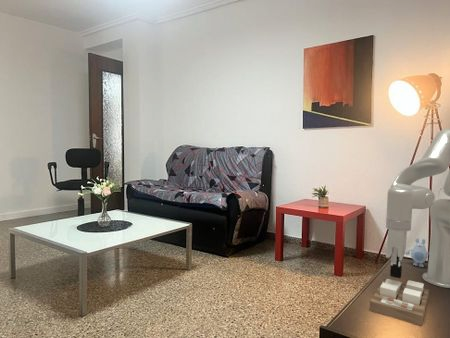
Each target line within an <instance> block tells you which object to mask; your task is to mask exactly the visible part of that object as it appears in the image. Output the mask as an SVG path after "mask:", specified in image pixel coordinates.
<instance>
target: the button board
mask: <svg viewBox="0 0 450 338" xmlns="http://www.w3.org/2000/svg"><path fill="white" fill-rule="evenodd" d="M387 279H388V278H383V280H382V281H381V282H380V284H379V286H378V287H377V289H376V291H375V293H374V294H373V296H372V297H371V299H370V300H369V311H370V312H374V313H377V314H381V315H383V316H387V317H391V318H394V319H397V320H400V321H404V322H407V323H411V324H413V325H418V326H421V327H422V326H423V321H424V318H425V313H426V308H427V305H428V301H429V293H430V292H429V291H430V290H429V289H427V288H424V287H423V294H422V296H421V301H420V305H419V306H418V305H414V304H411V303H407V302H403V301H402V298H403V291H404V289H405V288H406V284H407V283H403V282H402V284H401V290H400V291H399V290H398V295H397V297H396V299H392V298H389V297H385V296H381V295H380V286H381V285H382V283H383V282H384V283H385V281H386V280H387Z"/></svg>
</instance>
